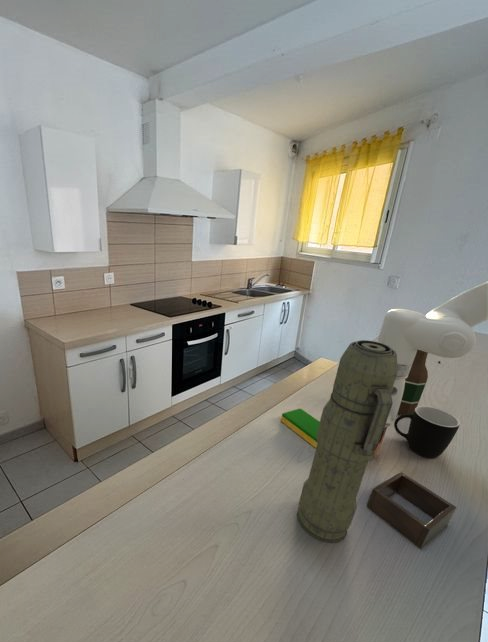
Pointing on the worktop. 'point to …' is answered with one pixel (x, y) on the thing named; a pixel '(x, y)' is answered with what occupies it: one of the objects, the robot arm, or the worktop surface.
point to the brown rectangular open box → (403, 518)
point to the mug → (429, 430)
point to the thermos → (347, 438)
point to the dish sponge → (302, 425)
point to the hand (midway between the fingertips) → (368, 431)
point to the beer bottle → (414, 384)
